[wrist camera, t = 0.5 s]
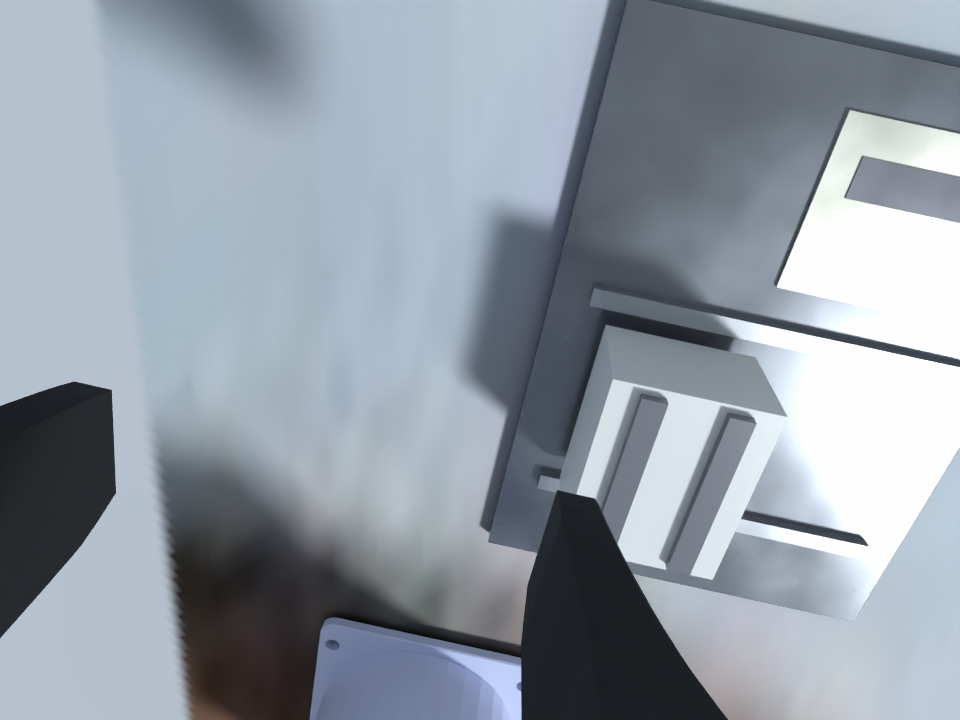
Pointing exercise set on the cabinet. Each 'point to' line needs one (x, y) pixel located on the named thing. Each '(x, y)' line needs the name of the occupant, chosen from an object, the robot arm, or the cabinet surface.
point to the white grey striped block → (672, 446)
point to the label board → (769, 283)
